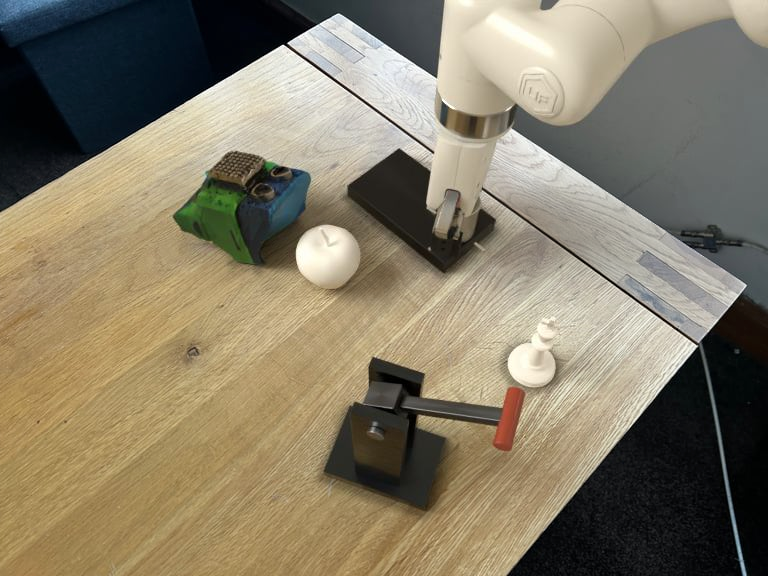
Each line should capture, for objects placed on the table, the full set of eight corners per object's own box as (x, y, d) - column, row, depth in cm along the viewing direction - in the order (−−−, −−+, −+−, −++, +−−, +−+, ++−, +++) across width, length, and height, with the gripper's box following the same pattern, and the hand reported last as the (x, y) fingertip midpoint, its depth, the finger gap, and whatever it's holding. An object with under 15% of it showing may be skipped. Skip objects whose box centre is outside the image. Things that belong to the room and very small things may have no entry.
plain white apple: (327, 239, 78) (322, 194, 71) (373, 271, 75) (373, 228, 69) (285, 277, 75) (276, 234, 68) (332, 312, 72) (328, 271, 66)
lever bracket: (445, 441, 65) (463, 373, 51) (424, 511, 61) (437, 456, 48) (350, 409, 66) (343, 335, 53) (323, 475, 63) (310, 412, 50)
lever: (529, 399, 49) (521, 383, 47) (515, 456, 46) (506, 441, 45) (387, 382, 55) (376, 367, 53) (369, 432, 52) (356, 417, 51)
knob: (454, 206, 78) (458, 176, 74) (483, 228, 76) (489, 199, 72) (426, 227, 76) (430, 197, 72) (456, 251, 75) (461, 222, 70)
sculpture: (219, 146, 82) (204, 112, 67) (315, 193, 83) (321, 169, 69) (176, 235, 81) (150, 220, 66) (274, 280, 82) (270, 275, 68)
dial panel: (506, 239, 78) (509, 227, 76) (455, 283, 75) (457, 273, 73) (398, 158, 85) (399, 146, 83) (347, 196, 81) (346, 184, 80)
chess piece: (549, 393, 68) (574, 349, 59) (502, 379, 68) (520, 333, 60) (558, 352, 70) (583, 304, 62) (513, 339, 71) (532, 290, 62)
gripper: (462, 36, 65) (446, 158, 80) (407, 157, 57) (401, 269, 71) (536, 53, 64) (507, 173, 79) (492, 180, 55) (468, 289, 70)
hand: (456, 219), depth 75 cm, fingers open, 9 cm apart
